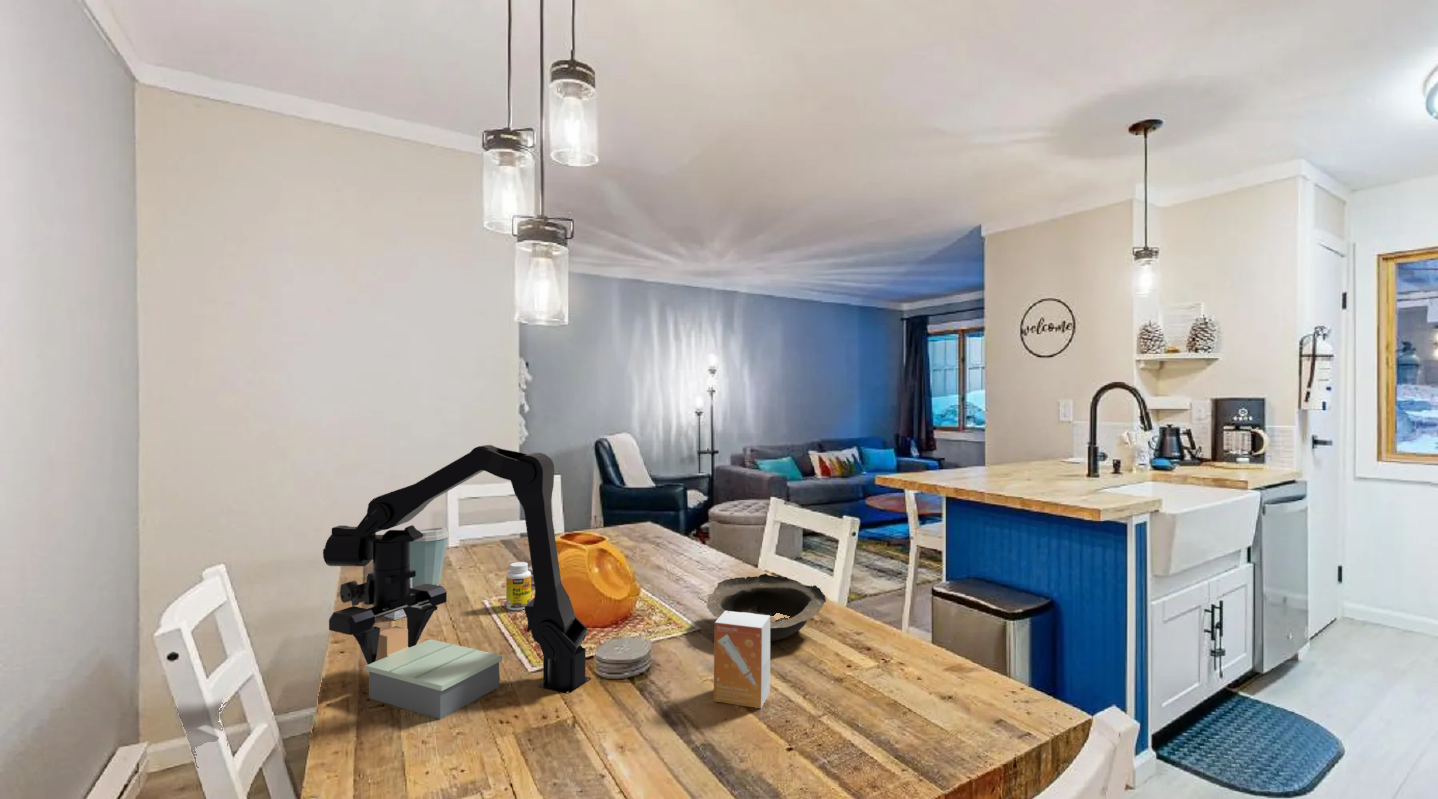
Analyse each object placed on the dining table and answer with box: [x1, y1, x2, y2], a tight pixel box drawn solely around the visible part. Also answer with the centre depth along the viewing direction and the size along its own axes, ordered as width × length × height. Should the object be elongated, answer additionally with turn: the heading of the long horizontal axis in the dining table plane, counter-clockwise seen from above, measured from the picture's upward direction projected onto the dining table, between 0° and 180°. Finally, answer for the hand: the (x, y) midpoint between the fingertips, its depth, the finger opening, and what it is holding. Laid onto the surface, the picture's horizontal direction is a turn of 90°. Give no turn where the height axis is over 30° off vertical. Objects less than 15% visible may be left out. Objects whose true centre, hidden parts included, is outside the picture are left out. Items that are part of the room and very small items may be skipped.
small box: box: [713, 611, 771, 709], centre depth 103 cm, size 8×6×13 cm
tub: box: [368, 662, 500, 720], centre depth 104 cm, size 16×12×5 cm
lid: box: [365, 625, 503, 691], centre depth 104 cm, size 20×12×6 cm, turn 65°
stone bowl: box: [706, 573, 827, 642], centre depth 133 cm, size 25×25×9 cm
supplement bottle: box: [505, 561, 532, 611], centre depth 148 cm, size 6×6×10 cm
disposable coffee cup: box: [410, 526, 450, 588], centre depth 165 cm, size 11×11×15 cm
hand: (391, 657), depth 108 cm, fingers open, 7 cm apart
